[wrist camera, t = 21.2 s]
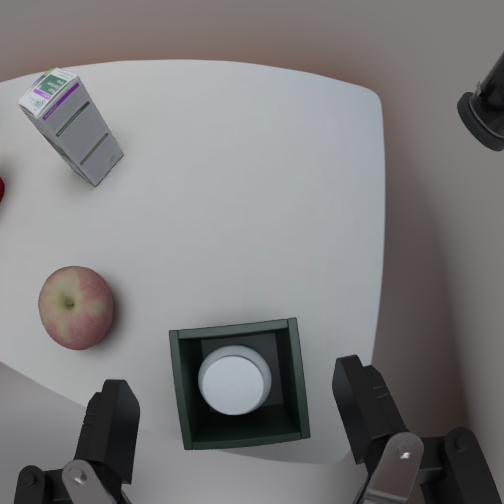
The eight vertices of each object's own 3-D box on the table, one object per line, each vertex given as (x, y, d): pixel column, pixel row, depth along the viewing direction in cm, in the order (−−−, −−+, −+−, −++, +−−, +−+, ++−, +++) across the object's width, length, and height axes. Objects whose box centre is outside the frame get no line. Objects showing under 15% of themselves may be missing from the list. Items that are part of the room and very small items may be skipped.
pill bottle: (264, 342, 28) (272, 342, 19) (268, 396, 27) (278, 422, 17) (207, 345, 28) (187, 346, 19) (211, 399, 26) (193, 425, 17)
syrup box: (125, 153, 35) (81, 71, 21) (95, 189, 33) (34, 116, 20) (99, 138, 36) (55, 62, 22) (70, 170, 34) (14, 102, 20)
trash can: (279, 326, 29) (296, 317, 19) (289, 406, 27) (311, 438, 17) (195, 335, 29) (168, 330, 19) (205, 415, 27) (184, 450, 16)
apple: (116, 359, 28) (77, 362, 20) (60, 335, 28) (16, 329, 21) (136, 287, 30) (102, 269, 22) (79, 268, 31) (39, 247, 23)
